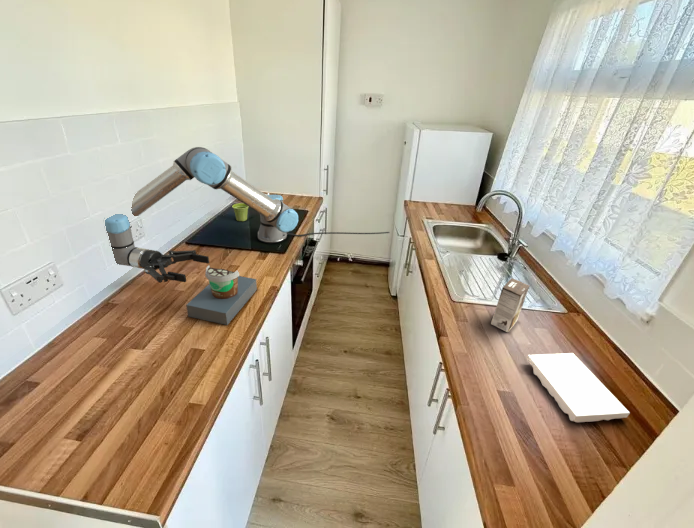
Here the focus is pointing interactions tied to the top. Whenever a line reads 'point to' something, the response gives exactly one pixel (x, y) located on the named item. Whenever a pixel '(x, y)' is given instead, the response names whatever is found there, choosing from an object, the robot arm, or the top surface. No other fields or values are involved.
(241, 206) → the plant pot
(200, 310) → the grey rectangular block
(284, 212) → the robot arm
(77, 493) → the top surface
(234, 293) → the food container
